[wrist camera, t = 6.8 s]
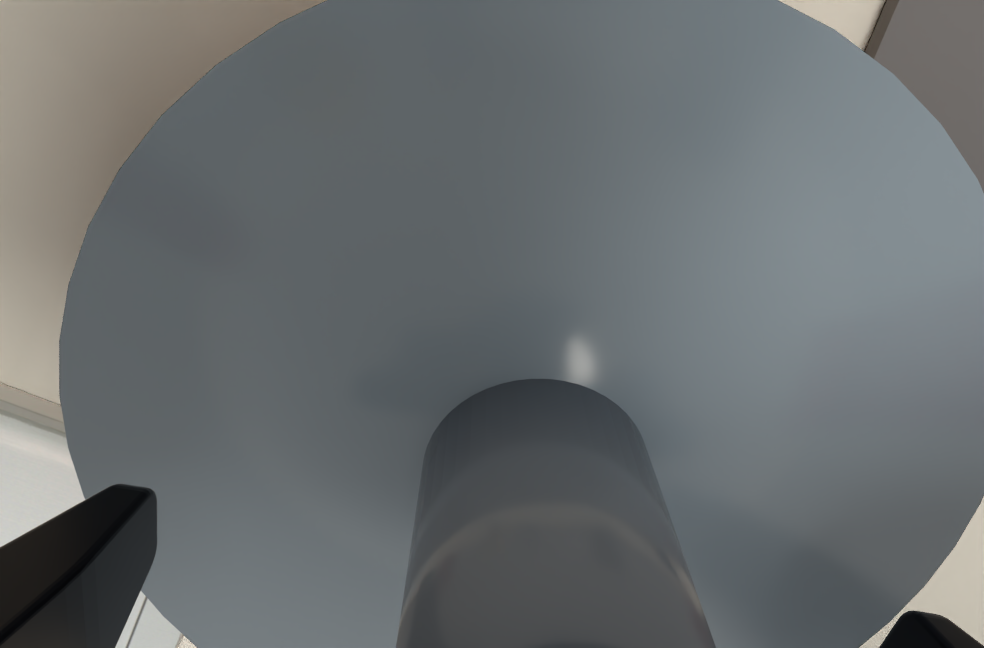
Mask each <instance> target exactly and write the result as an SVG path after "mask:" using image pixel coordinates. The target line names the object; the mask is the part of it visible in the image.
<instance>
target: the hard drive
mask: <svg viewBox="0 0 984 648" xmlns="http://www.w3.org/2000/svg"><path fill="white" fill-rule="evenodd" d="M84 500H85V498H84V496H83V493H82V489H81V486H80V483H79V480H78V477H77V474H76V471H75V468H74V465H73V462H72V459H71V456H70V452H69V449H68V445H67V439H66V433H65V426H64V420H63V414H62V408H61V405H58V404H55V403H53V402H50V401H47V400H45V399H42V398H39V397H37V396H34V395H31V394H29V393H26V392H23V391H21V390H18V389H15V388H13V387H10V386H7V385H5V384H2V383H0V547H1V546H3V545H5V544H7V543H8V542H10V541H12V540H14V539H16V538H17V537H19V536H21V535H23V534H25V533H26V532H28V531H30V530H32V529H34V528H35V527H37V526H39V525H41V524H43V523H44V522H46V521H48V520H50V519H52V518H53V517H55V516H57V515H59V514H61V513H62V512H64V511H66V510H68V509H70V508H71V507H73V506H75V505H77V504H79V503H80V502H82V501H84ZM182 637H183V634H182V633H181V632H180V631H179V630H178V629H176V628H175V627H174V626H173V625H172V624H171V623H170V622H169V621H168V620H167V619H166V618H164V617H163V615H162V614H161V613H160V612H159V611H158V610H157V609H156V607H155V606H154V605H153V604H152V603H151V602H150V600H149V599H148V598H147V597H146V596H145V595H144V594H143V592H142V591H140V593H139V596H138V598H137V600H136V602H135V605H134V607H133V609H132V611H131V613H130V616H129V618H128V620H127V622H126V625H125V627H124V629H123V631H122V634H121V636H120V638H119V640H118V643H117V645H116V647H115V648H178V646H179V644H180V642H181V639H182Z"/></svg>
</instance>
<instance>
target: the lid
mask: <svg viewBox="0 0 984 648" xmlns="http://www.w3.org/2000/svg"><path fill="white" fill-rule="evenodd" d="M59 389H60V402H61V408H62V414H63V420H64V426H65V433H66V439H67V445H68V449H69V452H70V456H71V459H72V462H73V465H74V468H75V471H76V474H77V477H78V480H79V483H80V486H81V489H82V493H83V496H84V498H85V500H86V499H88V498H89V497H91V496H93V495H95V494H97V493H98V492H100V491H102V490H104V489H106V488H107V487H109V486H112V485H115V484H128V485H134V486H140V487H146V488H150V489H152V490H153V491H154V492H155V494H156V497H157V550H156V554H155V558H154V561H153V564H152V566H151V569H150V571H149V573H148V575H147V578H146V580H145V582H144V584H143V587H142V589H141V591H142V592H143V594H144V595H145V596H146V597H147V598H148V599H149V600H150V602H151V603H152V604H153V605H154V606H155V607H156V609H157V610H158V611H159V612H160V613H161V614H162V615H163V617H164V618H166V619H167V620H168V621H169V622H170V623H171V624H172V625H173V626H174V627H175V628H176V629H178V630H179V631H180V632H181V633H182V634H183V635H184V636H185V637H186V638H187V639H189V640H190V641H191V642H192V643H193V644H194V645H195V646H196V647H197V648H859V647H860V646H861V645H862V644H864V643H865V642H866V641H867V640H868V639H870V638H871V637H872V636H873V635H874V634H876V633H877V632H878V631H879V630H880V629H882V628H883V627H884V626H885V625H886V624H888V623H889V622H890V621H891V620H892V619H893V618H894V617H895V616H896V615H897V614H898V613H899V612H900V611H901V610H902V609H903V608H904V607H905V606H906V605H907V604H908V602H909V601H910V600H911V599H912V598H913V597H914V596H915V595H916V594H917V593H918V592H919V591H920V590H921V589H922V588H923V587H924V586H925V585H926V583H927V582H928V581H929V579H930V578H931V577H932V576H933V574H934V573H935V572H936V570H937V569H938V568H939V566H940V565H941V564H942V563H943V561H944V560H945V559H946V557H947V556H948V555H949V554H950V552H951V551H952V550H953V548H954V547H955V545H956V544H957V542H958V540H959V539H960V537H961V535H962V534H963V532H964V530H965V528H966V527H967V525H968V523H969V522H970V520H971V518H972V517H973V515H974V513H975V512H976V510H977V508H978V506H979V505H980V503H981V501H982V498H983V496H984V193H983V191H982V188H981V186H980V184H979V181H978V179H977V178H976V176H975V175H974V173H973V172H972V170H971V168H970V167H969V165H968V164H967V162H966V161H965V159H964V158H963V156H962V155H961V153H960V152H959V150H958V149H957V147H956V146H955V144H954V143H953V141H952V140H951V138H950V137H949V135H948V134H947V132H946V131H945V129H944V128H943V126H942V125H941V124H940V122H939V121H938V120H937V119H936V118H935V117H934V116H933V115H932V114H931V113H930V112H929V111H928V110H927V109H926V108H925V107H924V106H923V105H922V103H921V102H920V101H919V100H918V99H917V98H916V97H915V96H914V95H913V94H912V93H911V92H910V91H909V90H908V89H907V88H906V87H905V86H904V85H903V83H902V82H901V81H900V80H899V79H898V78H897V77H896V76H895V75H894V74H893V73H892V72H890V71H889V70H888V69H886V68H885V67H884V66H882V65H881V64H880V63H878V62H877V61H876V60H874V59H873V58H872V57H870V56H869V55H868V54H866V53H865V52H864V51H862V50H861V49H860V48H858V47H857V46H856V45H854V44H853V43H852V42H850V41H849V40H848V39H846V38H845V37H843V36H842V35H841V34H839V33H838V32H837V31H835V30H834V29H832V28H830V27H828V26H826V25H825V24H823V23H821V22H819V21H817V20H815V19H813V18H811V17H809V16H807V15H805V14H803V13H801V12H799V11H798V10H796V9H794V8H792V7H790V6H788V5H786V4H784V3H782V2H780V1H778V0H327V1H325V2H323V3H320V4H318V5H316V6H314V7H312V8H310V9H307V10H305V11H303V12H301V13H299V14H297V15H295V16H292V17H290V18H288V19H286V20H284V21H282V22H280V23H278V24H277V25H275V26H274V27H272V28H271V29H269V30H268V31H266V32H265V33H263V34H262V35H260V36H259V37H257V38H256V39H254V40H253V41H251V42H250V43H248V44H247V45H245V46H244V47H242V48H241V49H239V50H238V51H236V52H235V53H233V54H232V55H230V56H229V57H227V58H226V59H224V60H223V61H221V62H220V63H218V64H217V65H215V66H214V67H213V68H212V69H211V70H210V71H209V72H208V73H207V74H206V75H205V76H203V77H202V78H201V79H200V80H199V81H198V82H197V83H196V84H195V85H194V86H193V87H192V88H191V89H189V90H188V91H187V92H186V93H185V94H184V95H183V96H182V97H181V98H180V99H179V100H178V101H176V102H175V103H174V104H173V105H172V106H171V107H170V108H169V109H168V110H167V111H166V112H165V113H164V114H162V115H161V117H160V118H159V119H158V121H157V122H156V123H155V124H154V126H153V127H152V128H151V130H150V131H149V132H148V133H147V135H146V136H145V137H144V139H143V140H142V141H141V142H140V144H139V145H138V146H137V148H136V149H135V150H134V151H133V153H132V154H131V155H130V156H129V158H128V159H127V160H126V162H125V163H124V164H123V165H122V167H121V168H120V169H119V171H118V173H117V175H116V177H115V178H114V180H113V182H112V184H111V186H110V188H109V189H108V191H107V193H106V195H105V197H104V199H103V201H102V202H101V204H100V206H99V208H98V210H97V212H96V213H95V215H94V217H93V219H92V221H91V223H90V225H89V226H88V229H87V232H86V235H85V238H84V241H83V244H82V247H81V250H80V253H79V255H78V258H77V261H76V264H75V267H74V270H73V273H72V276H71V279H70V282H69V285H68V291H67V298H66V304H65V310H64V316H63V322H62V328H61V334H60V340H59Z"/></svg>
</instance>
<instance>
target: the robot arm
mask: <svg viewBox="0 0 984 648" xmlns="http://www.w3.org/2000/svg"><path fill="white" fill-rule="evenodd" d="M156 550H157V497H156V494H155V492H154V491H153V490H152V489H150V488H146V487H140V486H134V485H128V484H115V485H112V486H109V487H107V488H106V489H104V490H102V491H100V492H98V493H97V494H95V495H93V496H91V497H89V498H88V499H86V500H84V501H82V502H80V503H79V504H77V505H75V506H73V507H71V508H70V509H68V510H66V511H64V512H62V513H61V514H59V515H57V516H55V517H53V518H52V519H50V520H48V521H46V522H44V523H43V524H41V525H39V526H37V527H35V528H34V529H32V530H30V531H28V532H26V533H25V534H23V535H21V536H19V537H17V538H16V539H14V540H12V541H10V542H8V543H7V544H5V545H3V546H1V547H0V648H115V647H116V645H117V643H118V640H119V638H120V636H121V634H122V631H123V629H124V627H125V625H126V622H127V620H128V618H129V616H130V613H131V611H132V609H133V607H134V605H135V602H136V600H137V598H138V596H139V593H140V591H141V589H142V587H143V584H144V582H145V580H146V578H147V575H148V573H149V571H150V569H151V566H152V564H153V561H154V558H155V554H156ZM879 648H984V646H983V645H982V644H980V643H979V642H978V641H976V640H975V639H974V638H972V637H971V636H970V635H968V634H967V633H966V632H965V631H963V630H962V629H961V628H959V627H958V626H957V625H955V624H954V623H953V622H951V621H950V620H949V619H947V618H945V617H943V616H941V615H937V614H932V613H925V612H919V611H908V612H906V613H904V614H902V616H901V617H900V618H899V619H898V621H897V622H896V624H895V625H894V627H893V628H892V630H891V631H890V633H889V634H888V636H887V637H886V638H885V640H884V641H883V643H882V644H881V646H880V647H879Z"/></svg>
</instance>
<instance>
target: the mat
mask: <svg viewBox="0 0 984 648" xmlns="http://www.w3.org/2000/svg"><path fill="white" fill-rule="evenodd" d="M865 53H866V54H868V55H869V56H870V57H872V58H873V59H874V60H876V61H877V62H878V63H880V64H881V65H882V66H884V67H885V68H886V69H888V70H889V71H890V72H892V73H893V74H894V75H895V76H896V77H897V78H898V79H899V80H900V81H901V82H902V83H903V85H904V86H905V87H906V88H907V89H908V90H909V91H910V92H911V93H912V94H913V95H914V96H915V97H916V98H917V99H918V100H919V101H920V102H921V103H922V105H923V106H924V107H925V108H926V109H927V110H928V111H929V112H930V113H931V114H932V115H933V116H934V117H935V118H936V119H937V120H938V121H939V122H940V124H941V125H942V126H943V128H944V129H945V131H946V132H947V134H948V135H949V137H950V138H951V140H952V141H953V143H954V144H955V146H956V147H957V149H958V150H959V152H960V153H961V155H962V156H963V158H964V159H965V161H966V162H967V164H968V165H969V167H970V168H971V170H972V172H973V173H974V175H975V176H976V178H977V179H978V181H979V184H980V186H981V188H982V191H983V193H984V0H887V1H886V3H885V6H884V8H883V10H882V13H881V15H880V17H879V20H878V22H877V24H876V27H875V29H874V32H873V34H872V36H871V39H870V41H869V43H868V46H867V48H866V50H865Z"/></svg>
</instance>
